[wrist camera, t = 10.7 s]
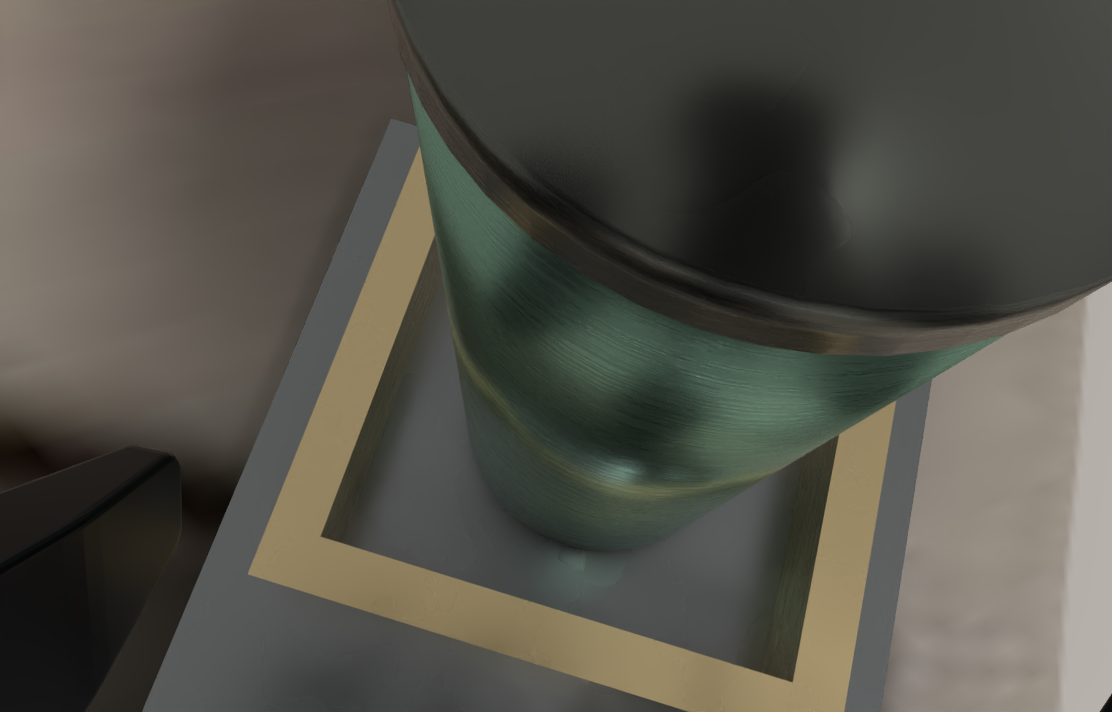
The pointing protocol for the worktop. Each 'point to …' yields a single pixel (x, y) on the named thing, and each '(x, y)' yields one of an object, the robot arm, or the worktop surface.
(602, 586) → the grey tray base
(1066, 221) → the spout can
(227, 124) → the worktop surface
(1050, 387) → the worktop surface
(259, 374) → the worktop surface
